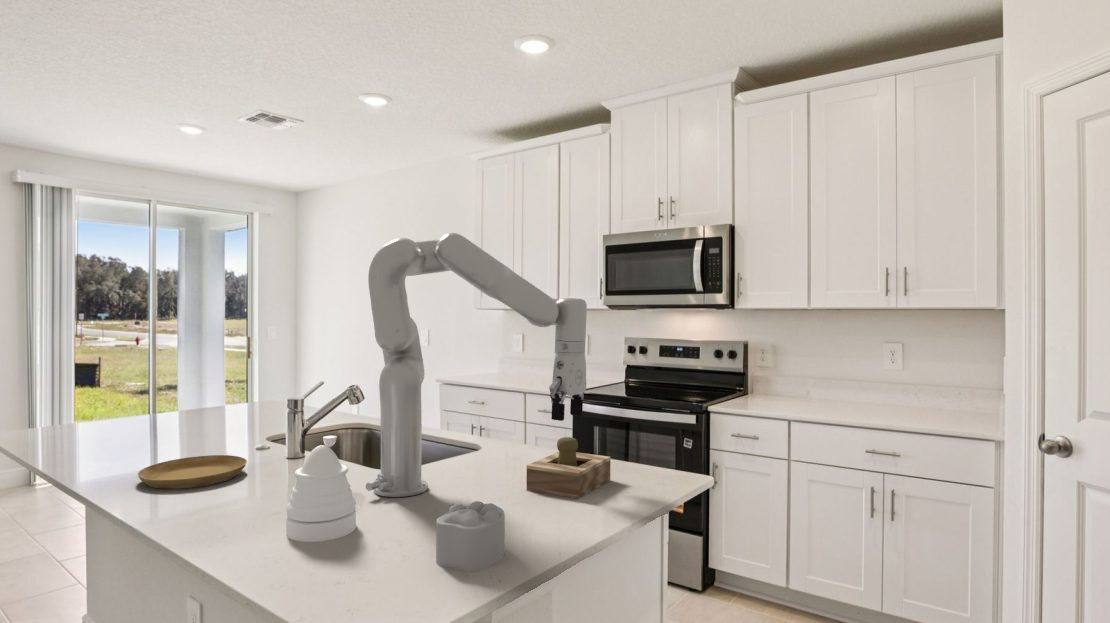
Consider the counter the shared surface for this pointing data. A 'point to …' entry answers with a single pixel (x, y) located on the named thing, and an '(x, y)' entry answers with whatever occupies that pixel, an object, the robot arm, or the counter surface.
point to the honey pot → (321, 498)
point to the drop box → (568, 475)
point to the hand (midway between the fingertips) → (567, 417)
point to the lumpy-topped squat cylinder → (470, 536)
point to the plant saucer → (192, 471)
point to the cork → (567, 451)
